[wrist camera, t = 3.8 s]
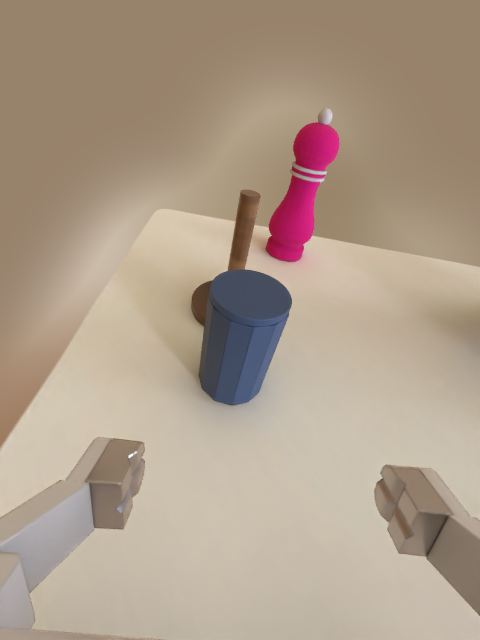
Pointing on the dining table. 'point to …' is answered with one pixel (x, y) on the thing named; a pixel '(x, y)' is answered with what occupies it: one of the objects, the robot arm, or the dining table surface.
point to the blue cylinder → (241, 333)
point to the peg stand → (232, 248)
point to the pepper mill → (303, 189)
